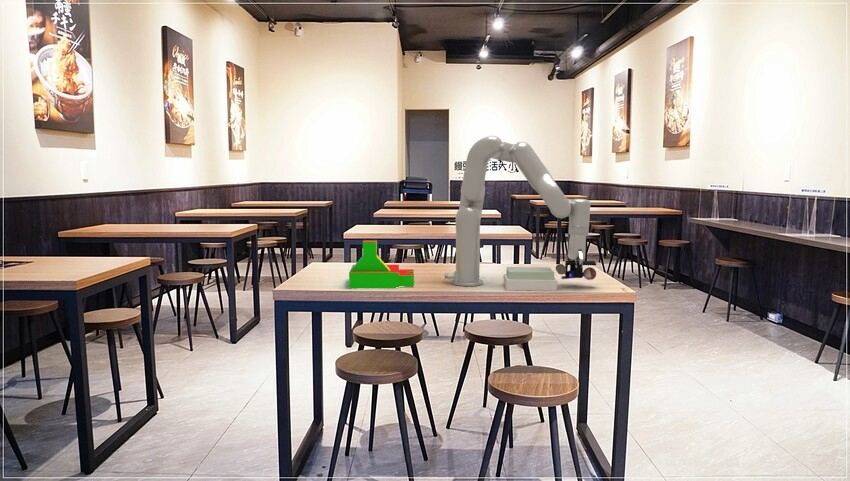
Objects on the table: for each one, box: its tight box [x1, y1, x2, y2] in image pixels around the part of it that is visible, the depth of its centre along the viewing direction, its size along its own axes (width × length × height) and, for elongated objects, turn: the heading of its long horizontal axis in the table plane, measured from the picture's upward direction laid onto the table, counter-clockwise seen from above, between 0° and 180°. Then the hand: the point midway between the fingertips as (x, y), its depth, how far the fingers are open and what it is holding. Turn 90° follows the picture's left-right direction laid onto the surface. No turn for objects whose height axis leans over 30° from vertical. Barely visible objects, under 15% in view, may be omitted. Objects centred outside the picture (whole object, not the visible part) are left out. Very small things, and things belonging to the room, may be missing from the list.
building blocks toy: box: [348, 239, 415, 288], centre depth 233 cm, size 19×25×18 cm
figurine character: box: [555, 260, 597, 281], centre depth 228 cm, size 7×8×15 cm
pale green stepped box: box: [503, 266, 558, 292], centre depth 227 cm, size 19×13×7 cm
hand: (575, 275), depth 228 cm, fingers closed on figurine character, 6 cm apart
